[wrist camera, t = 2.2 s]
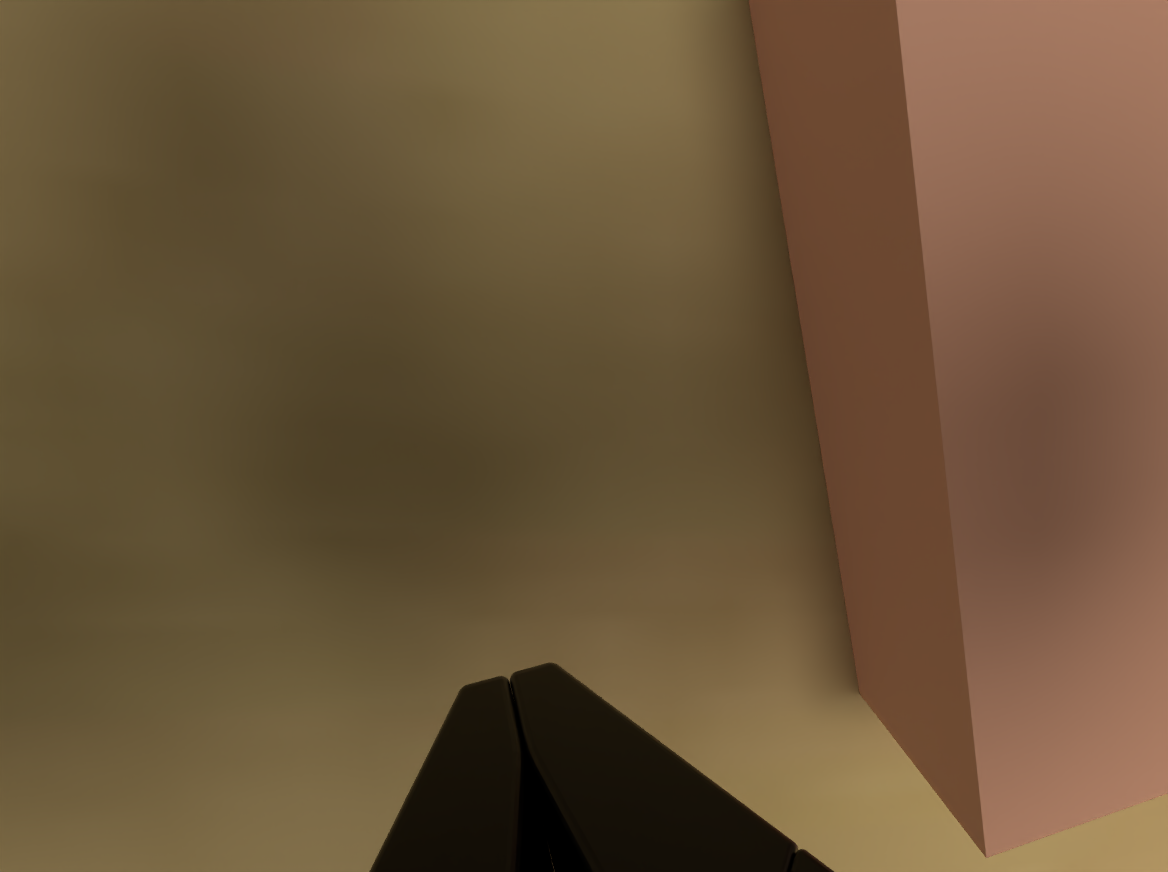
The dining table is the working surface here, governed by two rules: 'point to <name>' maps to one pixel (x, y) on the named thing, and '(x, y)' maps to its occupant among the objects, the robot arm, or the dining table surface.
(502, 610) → the dining table surface
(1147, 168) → the pink tabbed slab
